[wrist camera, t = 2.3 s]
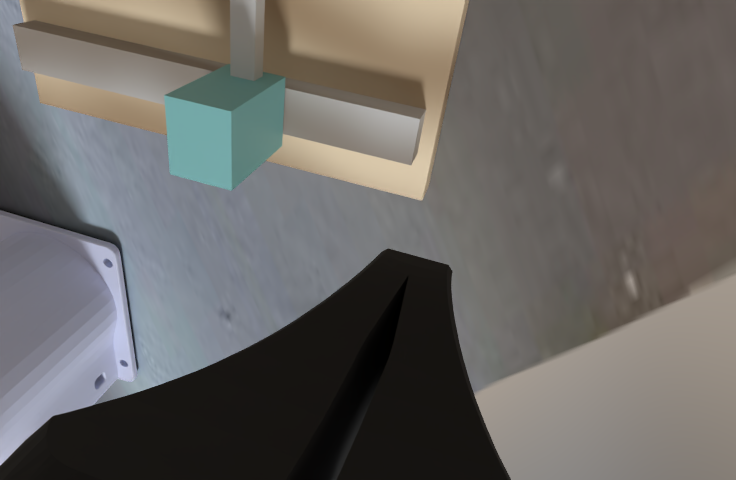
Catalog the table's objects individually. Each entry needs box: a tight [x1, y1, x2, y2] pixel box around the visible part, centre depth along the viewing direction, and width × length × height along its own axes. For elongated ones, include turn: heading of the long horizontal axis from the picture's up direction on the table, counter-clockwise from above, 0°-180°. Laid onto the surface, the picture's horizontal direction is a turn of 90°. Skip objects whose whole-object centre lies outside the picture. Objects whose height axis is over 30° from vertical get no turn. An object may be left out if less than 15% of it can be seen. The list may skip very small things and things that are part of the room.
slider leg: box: [164, 0, 285, 191], centre depth 16 cm, size 7×2×4 cm, turn 172°
